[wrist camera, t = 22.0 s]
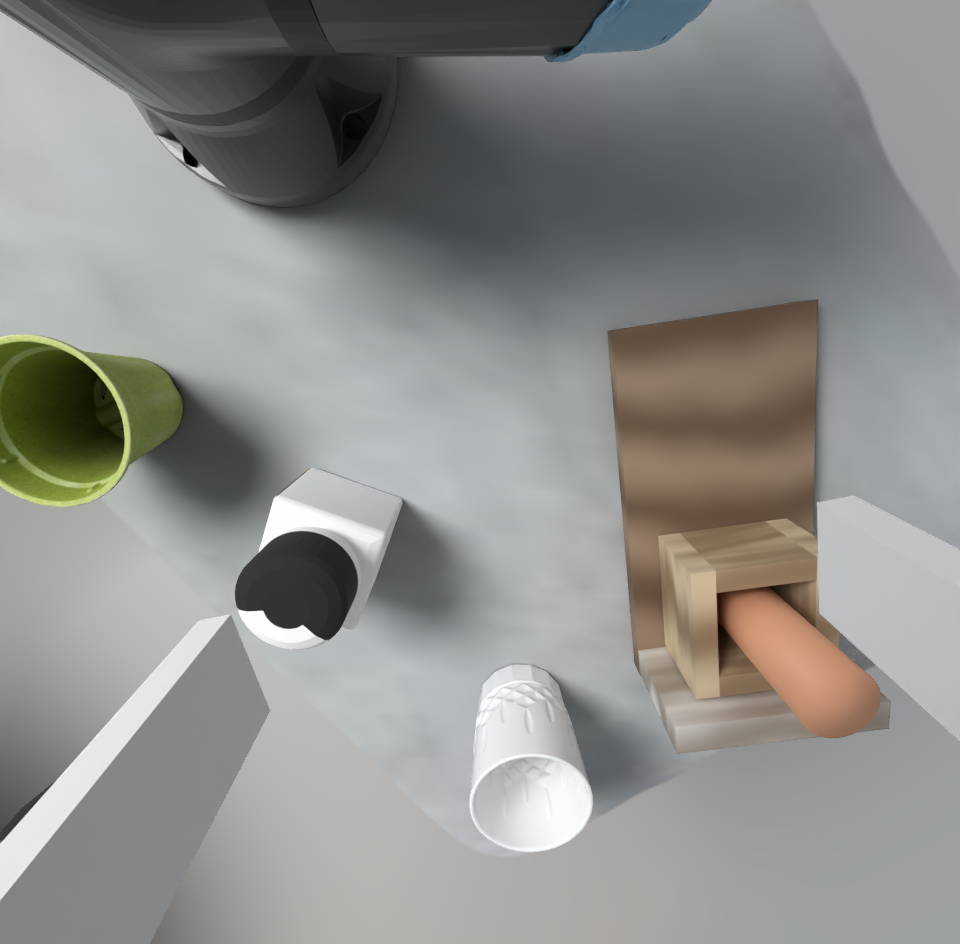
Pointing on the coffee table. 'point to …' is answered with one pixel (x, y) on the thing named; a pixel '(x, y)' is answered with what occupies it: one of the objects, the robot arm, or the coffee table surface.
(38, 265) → the coffee table surface
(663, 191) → the coffee table surface
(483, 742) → the white cup
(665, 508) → the board
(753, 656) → the dowel
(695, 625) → the open wooden box
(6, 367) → the plant pot
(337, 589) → the medicine bottle
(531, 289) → the coffee table surface
